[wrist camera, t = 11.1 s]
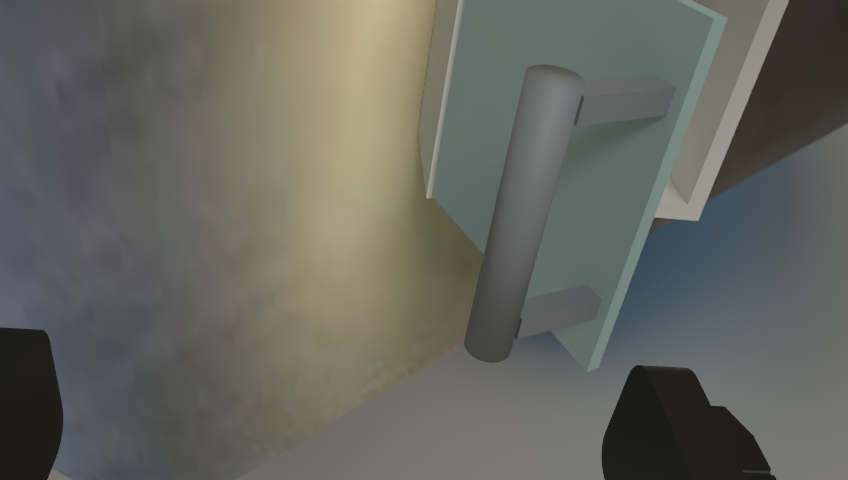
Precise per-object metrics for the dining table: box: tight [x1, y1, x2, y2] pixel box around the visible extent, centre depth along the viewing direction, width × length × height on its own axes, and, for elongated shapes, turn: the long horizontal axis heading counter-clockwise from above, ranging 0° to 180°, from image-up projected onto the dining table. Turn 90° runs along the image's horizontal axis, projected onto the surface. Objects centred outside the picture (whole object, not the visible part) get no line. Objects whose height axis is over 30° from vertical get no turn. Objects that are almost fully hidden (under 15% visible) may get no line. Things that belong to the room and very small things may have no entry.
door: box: [432, 0, 728, 372], centre depth 31 cm, size 15×14×6 cm
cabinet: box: [418, 0, 789, 221], centre depth 42 cm, size 16×16×8 cm
